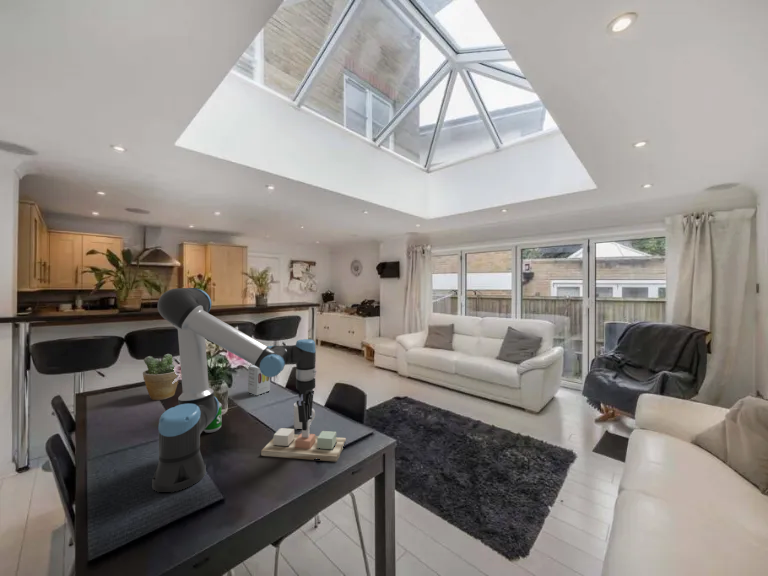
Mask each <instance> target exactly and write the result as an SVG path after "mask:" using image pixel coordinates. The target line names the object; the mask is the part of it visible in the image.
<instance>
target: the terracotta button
mask: <svg viewBox="0 0 768 576" xmlns="http://www.w3.org/2000/svg"><path fill="white" fill-rule="evenodd" d="M298 435H299V436H298V438H297V439H296V440H295V448H305V449H311V447H312V446H313V444H314V443H315V436H316V433H315V434H314V433H310V436H309V437H308V438H304V437H302V432H301V433H300V434H298Z"/></svg>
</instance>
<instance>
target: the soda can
mask: <svg viewBox="0 0 768 576" xmlns="http://www.w3.org/2000/svg"><path fill="white" fill-rule="evenodd" d="M218 402H219V410H218V413H217V415H216V417H215V419H214V420H213V421H212V422H211V423H210V424H209V425H208V426H207V427H206V428H205V429H204V430H203V431H202V432H205V433H206V434H207V433H209V434H210V433H215V432H218V431H219V430H220V429H221V428H222V410H223V408H222V406H223V405H222V403H221V402H220V401H219V400H218Z"/></svg>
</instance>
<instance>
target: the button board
mask: <svg viewBox="0 0 768 576" xmlns="http://www.w3.org/2000/svg"><path fill="white" fill-rule="evenodd" d="M299 435H300V434H295V433H294V439H293V441H292V442H291V443H290V444H289V445H288V446H280V445H274V437H273V438H272V439H270V441H269V442H268V443H267V444H266V445H265V446H264V447H263V448H262V449H261V451H260V452H261V453H260V455H261V456H263V457H272V458H273V457H275V458H284V459H285V458H287V459H300V460H311V461H315V460H314V459H316V458H317V459H320V460H319V461H324V462H325V461H326V462H338V461H339V458H340V456H341V455H342V452H343V449H344V448H343V446H344V443H345V441H346V442H347V438H346V437H337V436H336V443H335V444H336V445H335V447H333V449H319V448H317V438H318V436H319V435H315V443H314V444H313V446H312V447H311V449H305V448H295V440H296V439H297V438H298V436H299ZM344 447H345V446H344Z"/></svg>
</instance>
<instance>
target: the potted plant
mask: <svg viewBox="0 0 768 576" xmlns="http://www.w3.org/2000/svg"><path fill="white" fill-rule="evenodd" d="M173 361H174V360H173V355H172V354H170V353H167V354H164V355H163V357H162V359H161V360H159V359H158V358H155V357H153V356H151V355H149V356H146V357H145V358H144V359H143V362H144V363H145V365H146V367H147V369H146V370H144V371H142V376H143V377H142V378H143V381H144V382H145V387H146V390H147V393H148V396H149V398H150V399H151V400H153V401H159V400H160V401H162V400H166V399H170V398H172V397H174V396H175V394H176V391H177V387H178V384H179V381H177V382H175V383H174V384H172V382H173V381H174V379H175V378H176V377H177V375H176V374H175V372H174V370H173V369H174V367H175V366H176V365H174V364H173Z"/></svg>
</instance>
